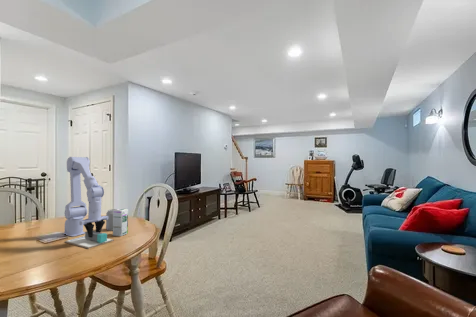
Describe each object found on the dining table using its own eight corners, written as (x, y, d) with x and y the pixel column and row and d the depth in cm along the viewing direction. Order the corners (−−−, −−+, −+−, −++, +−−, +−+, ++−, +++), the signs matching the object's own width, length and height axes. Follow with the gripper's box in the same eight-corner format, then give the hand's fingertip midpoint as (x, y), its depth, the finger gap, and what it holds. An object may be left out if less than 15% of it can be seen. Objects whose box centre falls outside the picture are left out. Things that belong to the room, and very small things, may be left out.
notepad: (64, 242, 127) (64, 240, 127) (91, 235, 140) (91, 234, 140) (87, 248, 119) (88, 247, 119) (113, 240, 132) (113, 239, 132)
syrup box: (121, 236, 139) (122, 210, 139) (112, 235, 140) (112, 209, 140) (127, 233, 145) (128, 208, 145) (119, 232, 146) (119, 208, 146)
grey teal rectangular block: (84, 238, 130) (85, 231, 130) (91, 236, 133) (91, 229, 133) (100, 242, 125) (100, 235, 125) (106, 240, 128) (107, 233, 128)
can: (122, 228, 155) (122, 209, 155) (112, 231, 148) (113, 211, 148) (112, 227, 157) (113, 208, 158) (103, 230, 150) (103, 210, 151)
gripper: (85, 213, 121) (85, 241, 121) (112, 208, 134) (111, 233, 134) (77, 211, 124) (76, 238, 124) (103, 207, 138) (103, 231, 137)
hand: (94, 236), depth 130 cm, fingers open, 3 cm apart
